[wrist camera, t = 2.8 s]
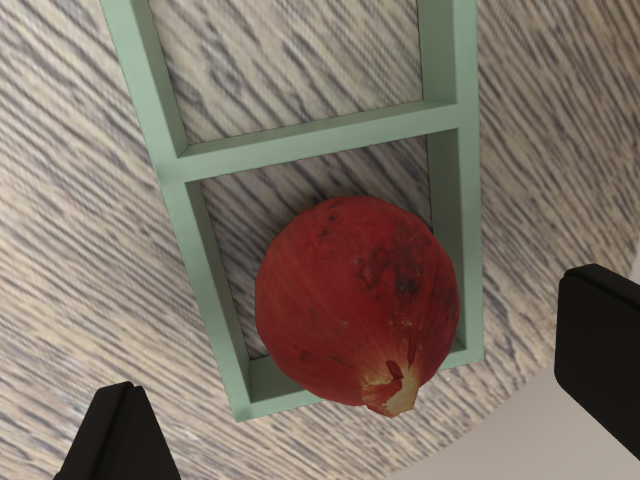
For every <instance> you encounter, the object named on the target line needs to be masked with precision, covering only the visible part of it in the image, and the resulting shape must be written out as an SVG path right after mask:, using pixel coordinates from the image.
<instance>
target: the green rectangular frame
mask: <svg viewBox="0 0 640 480" xmlns="http://www.w3.org/2000/svg"><path fill="white" fill-rule="evenodd" d="M99 1H100V4H101V7H102V10H103V13H104V16H105V20H106V23H107V26H108V29H109V32H110V35H111V38H112V41H113V44H114V47H115V50H116V54H117V57H118V60H119V63H120V66H121V69H122V72H123V75H124V78H125V81H126V84H127V88H128V91H129V94H130V97H131V100H132V103H133V106H134V109H135V112H136V115H137V119H138V122H139V125H140V128H141V131H142V134H143V137H144V140H145V143H146V146H147V149H148V153H149V156H150V159H151V162H152V165H153V168H154V171H155V174H156V178H157V181H158V184H159V187H160V190H161V193H162V196H163V199H164V202H165V205H166V208H167V211H168V214H169V218H170V221H171V224H172V227H173V230H174V233H175V236H176V239H177V242H178V245H179V248H180V252H181V255H182V258H183V261H184V264H185V267H186V270H187V273H188V276H189V279H190V282H191V286H192V289H193V292H194V295H195V298H196V301H197V304H198V307H199V310H200V313H201V316H202V320H203V323H204V326H205V329H206V332H207V335H208V338H209V341H210V344H211V347H212V351H213V354H214V357H215V360H216V363H217V366H218V369H219V372H220V375H221V378H222V381H223V385H224V388H225V391H226V394H227V397H228V400H229V403H230V406H231V409H232V412H233V415H234V419H235V422H236V423H239V422H243V421H247V420H251V419H254V418H258V417H262V416H266V415H270V414H274V413H278V412H282V411H286V410H290V409H294V408H297V407H301V406H305V405H309V404H313V403H317V402H321V401H325V400H327V399H323V398H319V397H317V396H315V395H314V394H312V393H310V392H309V391H307V390H306V389H305V388H303V387H302V386H300V385H299V384H298V383H296V382H295V381H293V380H292V379H291V378H289V377H288V376H286V375H285V374H284V373H283V372H282V371H281V370H280V369H279V368H278V367H277V366H276V364H275V363H274V361H273V359H272V357H271V356H267V357H263V358H259V359H255V360H250V358H249V355H248V351H247V348H246V344H245V341H244V337H243V334H242V330H241V326H240V323H239V319H238V316H237V312H236V309H235V305H234V302H233V298H232V295H231V291H230V288H229V284H228V281H227V277H226V274H225V270H224V267H223V263H222V260H221V256H220V253H219V249H218V246H217V242H216V239H215V235H214V232H213V228H212V225H211V221H210V217H209V214H208V210H207V207H206V203H205V200H204V196H203V193H202V189H201V186H200V182H199V180H201V179H206V178H211V177H216V176H221V175H226V174H231V173H236V172H241V171H246V170H251V169H256V168H261V167H266V166H271V165H276V164H281V163H286V162H291V161H296V160H301V159H306V158H311V157H316V156H321V155H326V154H331V153H336V152H341V151H346V150H351V149H356V148H361V147H366V146H371V145H376V144H381V143H385V142H390V141H395V140H400V139H405V138H410V137H415V136H420V135H425V134H426V136H427V151H428V166H429V180H430V195H431V209H432V224H433V235H434V236H435V238H436V239H437V240H438V242H439V243H440V244H441V246H442V247H443V249H444V250H445V251H446V253H447V254H448V255H449V257H450V258H451V259H452V263H453V267H454V270H455V274H456V281H457V287H458V293H459V299H460V318H459V322H458V326H457V330H456V334H455V338H454V342H453V346H452V348H451V350H450V353H449V354H448V356H447V357H446V359H445V360H444V362H443V363H442V364H441V366H440V367H439V369H438V370H437V372H438V371H442V370H446V369H450V368H454V367H458V366H462V365H465V364H469V363H473V362H477V361H481V360H484V335H483V287H482V239H481V191H480V143H479V122H480V118H479V95H478V48H477V0H417V5H418V19H419V34H420V49H421V63H422V78H423V93H424V100H421V101H416V102H410V103H405V104H400V105H395V106H390V107H384V108H379V109H374V110H369V111H364V112H359V113H353V114H348V115H343V116H338V117H333V118H327V119H322V120H317V121H312V122H307V123H302V124H296V125H291V126H286V127H281V128H276V129H270V130H265V131H260V132H255V133H250V134H245V135H239V136H234V137H229V138H224V139H219V140H213V141H208V142H203V143H198V144H193V145H189V144H188V140H187V137H186V133H185V130H184V126H183V123H182V119H181V116H180V112H179V108H178V105H177V101H176V98H175V94H174V91H173V87H172V84H171V80H170V77H169V73H168V70H167V66H166V63H165V59H164V56H163V52H162V49H161V45H160V42H159V38H158V35H157V31H156V28H155V24H154V21H153V17H152V14H151V10H150V7H149V3H148V0H99Z"/></svg>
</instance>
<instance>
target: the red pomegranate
mask: <svg viewBox="0 0 640 480" xmlns="http://www.w3.org/2000/svg"><path fill="white" fill-rule="evenodd" d="M459 318H460V299H459V293H458V287H457V281H456V274H455V270H454V267H453V263H452V259H451V258H450V257H449V255H448V254H447V253H446V251H445V250H444V249H443V247H442V246H441V244H440V243H439V242H438V240H437V239H436V238H435V236H434V235H433V234H432V232H431V231H430V230H429V228H428V227H427V226H426V224H425V223H424V222H423V220H422V219H421V218H420V217H419V216H417V215H415V214H413V213H411V212H408V211H406V210H404V209H402V208H400V207H398V206H395V205H393V204H391V203H389V202H387V201H385V200H382V199H380V198H378V197H375V196H373V195H371V196H339V197H331V198H329V199H327V200H325V201H323V202H321V203H319V204H317V205H315V206H313V207H311V208H309V209H307V210H305V211H303V212H301V213H299V214H297V215H296V216H295V217H294V218H293V219H292V220H291V221H290V222H289V223H288V224H287V225H286V226H285V227H284V228H283V229H282V230H281V231H280V232H279V233H278V234H277V235H276V236H275V237H274V238H273V239H272V241H271V243H270V245H269V248H268V250H267V253H266V255H265V257H264V260H263V262H262V264H261V267H260V269H259V271H258V274H257V277H256V281H255V322H256V327H257V331H258V334H259V336H260V338H261V340H262V341H263V343H264V345H265V347H266V349H267V350H268V352H269V354H270V356H271V357H272V359H273V361H274V363H275V364H276V366H277V367H278V368H279V369H280V370H281V371H282V372H283V373H284V374H285V375H286V376H288V377H289V378H291V379H292V380H293V381H295V382H296V383H298V384H299V385H300V386H302V387H303V388H305V389H306V390H307V391H309V392H310V393H312V394H314V395H315V396H317V397H319V398H323V399H327V400H330V401H334V402H338V403H341V404H345V405H350V406H361V405H366V406H367V407H368V409H370V410H372V411H375V412H377V413H379V414H382V415H384V416H387V417H389V418H393V417H395V416H397V415H398V414H400V413H401V412H405V411H409V410H412V409H413V407H414V404H415V400H416V396H417V393H418V389H419V388H420V387H421V386H422V385H424V384H425V383H426V382H427V381H429V380H430V379H431V378H432V377H433V376H434V375H435V373H436V372H437V370H438V369H439V367H440V366H441V364H442V363H443V362H444V360H445V359H446V357H447V356H448V354H449V353H450V350H451V348H452V346H453V342H454V338H455V334H456V330H457V326H458V322H459Z"/></svg>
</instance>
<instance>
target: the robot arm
mask: <svg viewBox="0 0 640 480" xmlns="http://www.w3.org/2000/svg"><path fill="white" fill-rule="evenodd" d="M554 374H555V377H556V380H557V382H558V383H559V385H560V386H561V387H562V388H563V389H564V390H565V391H566V392H567V393H568V394H569V395H570V396H571V397H572V398H573V399H574V400H575V401H576V402H577V403H579V404H580V405H581V406H582V407H583V408H584V409H585V410H586V411H587V412H588V413H589V414H590V415H591V416H592V417H593V418H595V419H596V420H597V421H598V422H599V423H600V424H601V425H602V426H603V427H604V428H605V429H606V430H607V431H608V432H610V433H611V434H612V435H613V436H614V437H615V438H616V439H617V440H618V441H619V442H620V443H621V444H622V445H623V446H624V447H626V448H627V449H628V450H629V451H630V452H631V453H632V454H633V455H634V456H635V457H636V458H637V459H638V460H639V461H640V285H638V284H636V283H634V282H633V281H631V280H629V279H627V278H625V277H623V276H621V275H619V274H617V273H615V272H613V271H611V270H609V269H607V268H605V267H603V266H601V265H598V264H595V263H594V264H588V265H584V266H580V267H576V268H572V269H569V270H567V271H566V272H565V274H564V277H563V278H562V279H561V280H560V282H559V294H558V312H557V329H556V347H555V364H554ZM53 480H181V477H180V474H179V472H178V470H177V467H176V465H175V462H174V460H173V458H172V455H171V453H170V450H169V448H168V446H167V443H166V441H165V438H164V436H163V434H162V431H161V429H160V426H159V424H158V422H157V419H156V417H155V414H154V412H153V410H152V407H151V405H150V402H149V400H148V398H147V395H146V393H145V390H144V389H143V387H142V386H136V387H134V385H133V384H132V383H131V382H130V381H126V382H122V383H118V384H114V385H110V386H106V387H102V388H100V389H98V390H97V392H96V393H95V395H94V397H93V400H92V402H91V404H90V406H89V408H88V411H87V413H86V415H85V417H84V419H83V421H82V424H81V426H80V428H79V430H78V432H77V435H76V437H75V439H74V441H73V443H72V446H71V448H70V450H69V452H68V454H67V457H66V459H65V461H64V463H63V465H62V468H61V470H60V472H58V473H57V474H56V475H55V477H54V479H53Z"/></svg>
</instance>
